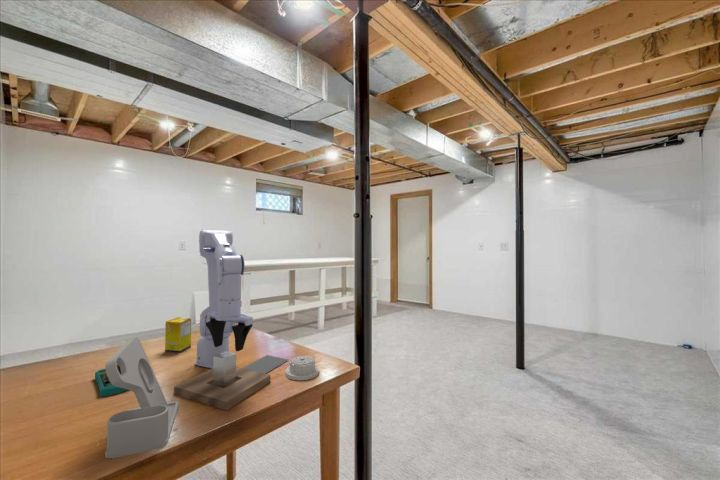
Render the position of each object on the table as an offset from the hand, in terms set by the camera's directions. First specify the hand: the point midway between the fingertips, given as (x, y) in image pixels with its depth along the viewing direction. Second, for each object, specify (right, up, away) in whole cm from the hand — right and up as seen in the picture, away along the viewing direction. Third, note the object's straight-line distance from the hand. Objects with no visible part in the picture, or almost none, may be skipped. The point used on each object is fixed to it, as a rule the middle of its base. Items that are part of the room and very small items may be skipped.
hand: (228, 348), depth 84 cm
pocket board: (-1, -10, -1) cm, 11 cm away
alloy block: (-1, -11, -1) cm, 11 cm away
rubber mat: (+5, -11, +14) cm, 18 cm away
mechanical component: (+19, -11, +9) cm, 23 cm away
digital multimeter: (-32, -10, 0) cm, 33 cm away
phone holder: (-9, -11, -19) cm, 24 cm away
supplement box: (-30, -10, +26) cm, 41 cm away
